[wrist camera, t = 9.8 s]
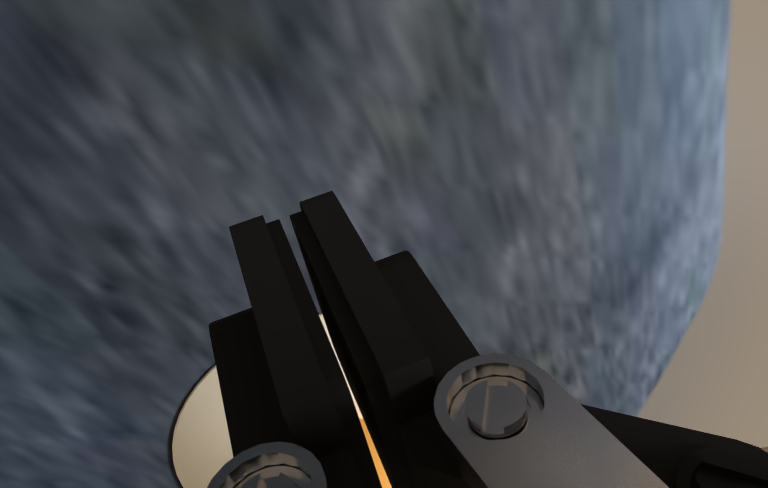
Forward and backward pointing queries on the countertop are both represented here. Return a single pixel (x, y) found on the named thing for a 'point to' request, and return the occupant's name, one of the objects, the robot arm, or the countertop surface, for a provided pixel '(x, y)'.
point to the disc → (207, 431)
